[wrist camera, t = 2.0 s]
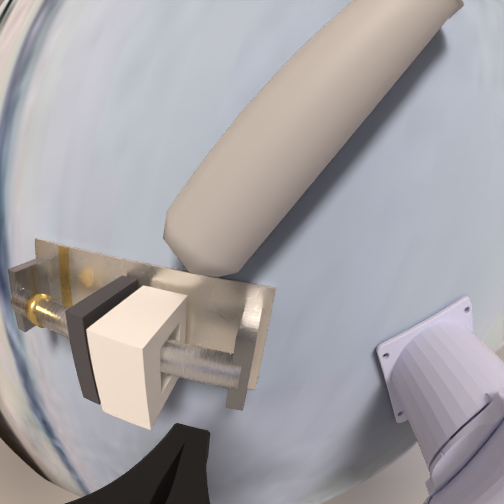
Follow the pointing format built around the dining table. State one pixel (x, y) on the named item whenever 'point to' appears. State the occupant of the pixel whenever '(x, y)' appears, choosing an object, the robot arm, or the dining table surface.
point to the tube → (295, 130)
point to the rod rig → (195, 286)
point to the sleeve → (136, 353)
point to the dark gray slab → (83, 318)
